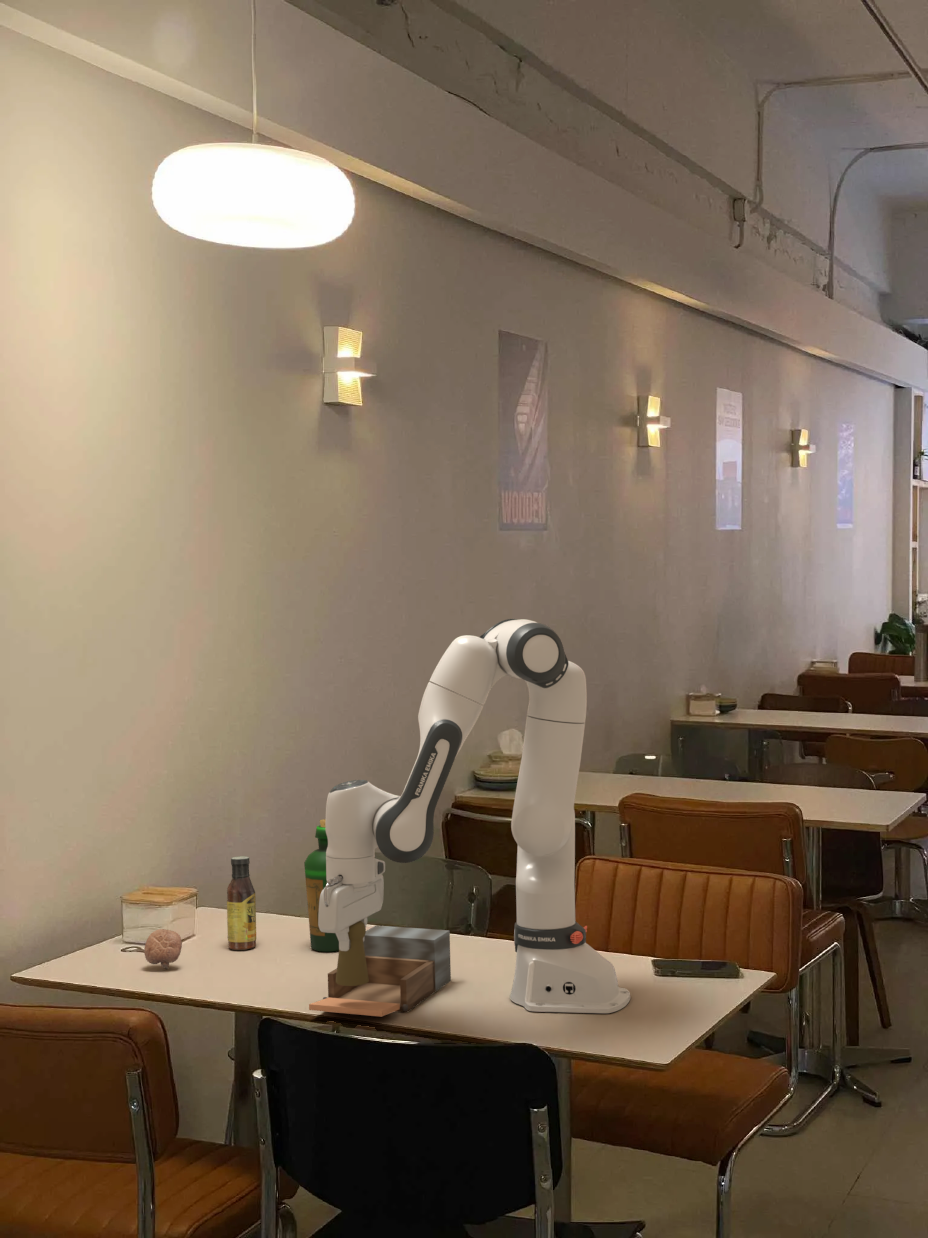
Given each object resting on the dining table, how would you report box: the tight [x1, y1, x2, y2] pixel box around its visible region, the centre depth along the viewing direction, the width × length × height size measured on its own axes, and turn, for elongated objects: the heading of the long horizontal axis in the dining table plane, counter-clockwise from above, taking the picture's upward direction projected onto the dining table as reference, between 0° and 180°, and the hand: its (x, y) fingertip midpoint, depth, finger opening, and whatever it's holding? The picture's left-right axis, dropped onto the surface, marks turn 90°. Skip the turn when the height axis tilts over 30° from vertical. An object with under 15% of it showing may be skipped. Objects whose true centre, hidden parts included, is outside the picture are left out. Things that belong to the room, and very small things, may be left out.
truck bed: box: [322, 925, 452, 1014], centre depth 267 cm, size 17×24×10 cm
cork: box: [336, 921, 369, 986], centre depth 252 cm, size 6×6×11 cm
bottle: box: [304, 818, 339, 953], centre depth 303 cm, size 11×11×28 cm
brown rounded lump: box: [143, 928, 183, 970], centre depth 289 cm, size 8×6×8 cm
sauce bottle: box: [226, 855, 257, 951], centre depth 305 cm, size 7×6×20 cm
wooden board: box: [308, 997, 400, 1017], centre depth 252 cm, size 14×1×8 cm
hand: (351, 946), depth 252 cm, fingers closed on cork, 4 cm apart
